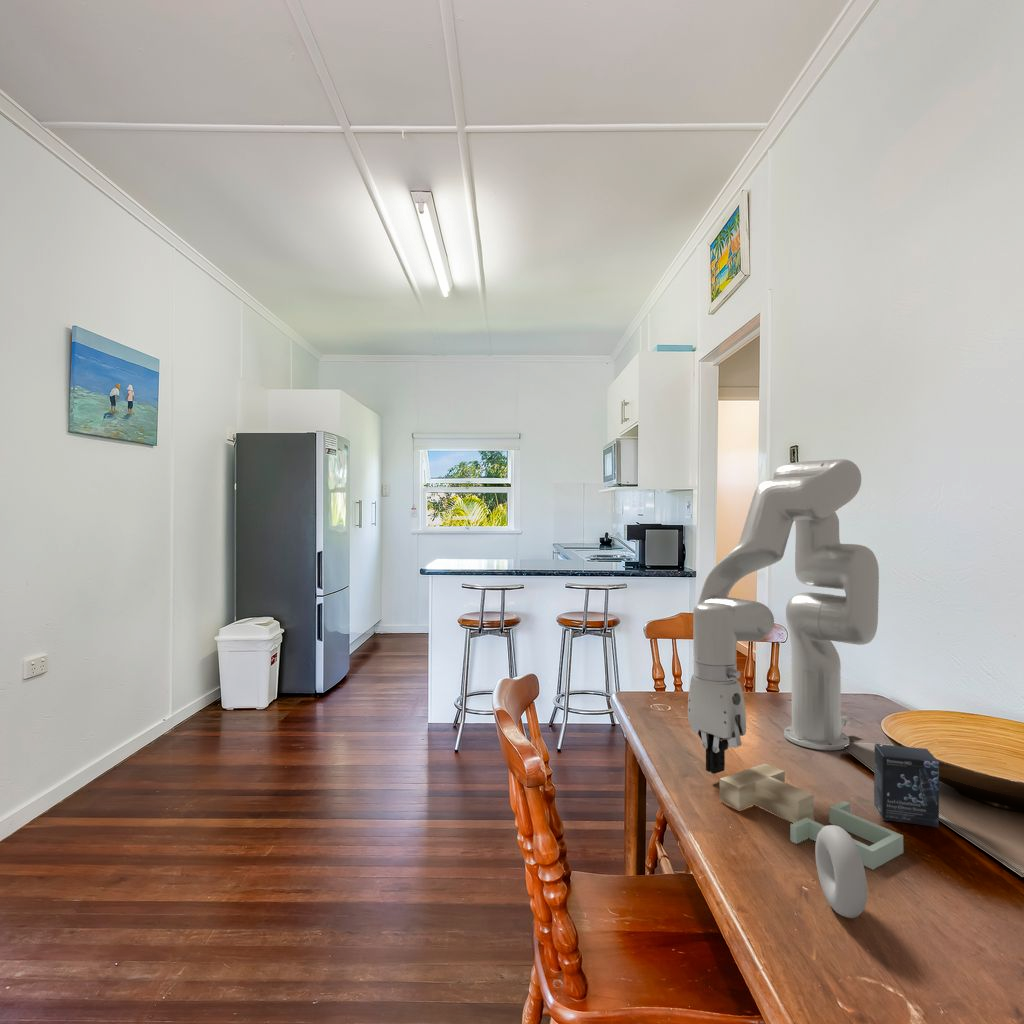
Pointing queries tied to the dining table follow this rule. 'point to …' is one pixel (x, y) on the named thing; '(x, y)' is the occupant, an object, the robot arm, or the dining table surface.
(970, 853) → the dining table surface
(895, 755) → the box
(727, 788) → the t block
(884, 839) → the t dock
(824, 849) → the donut
